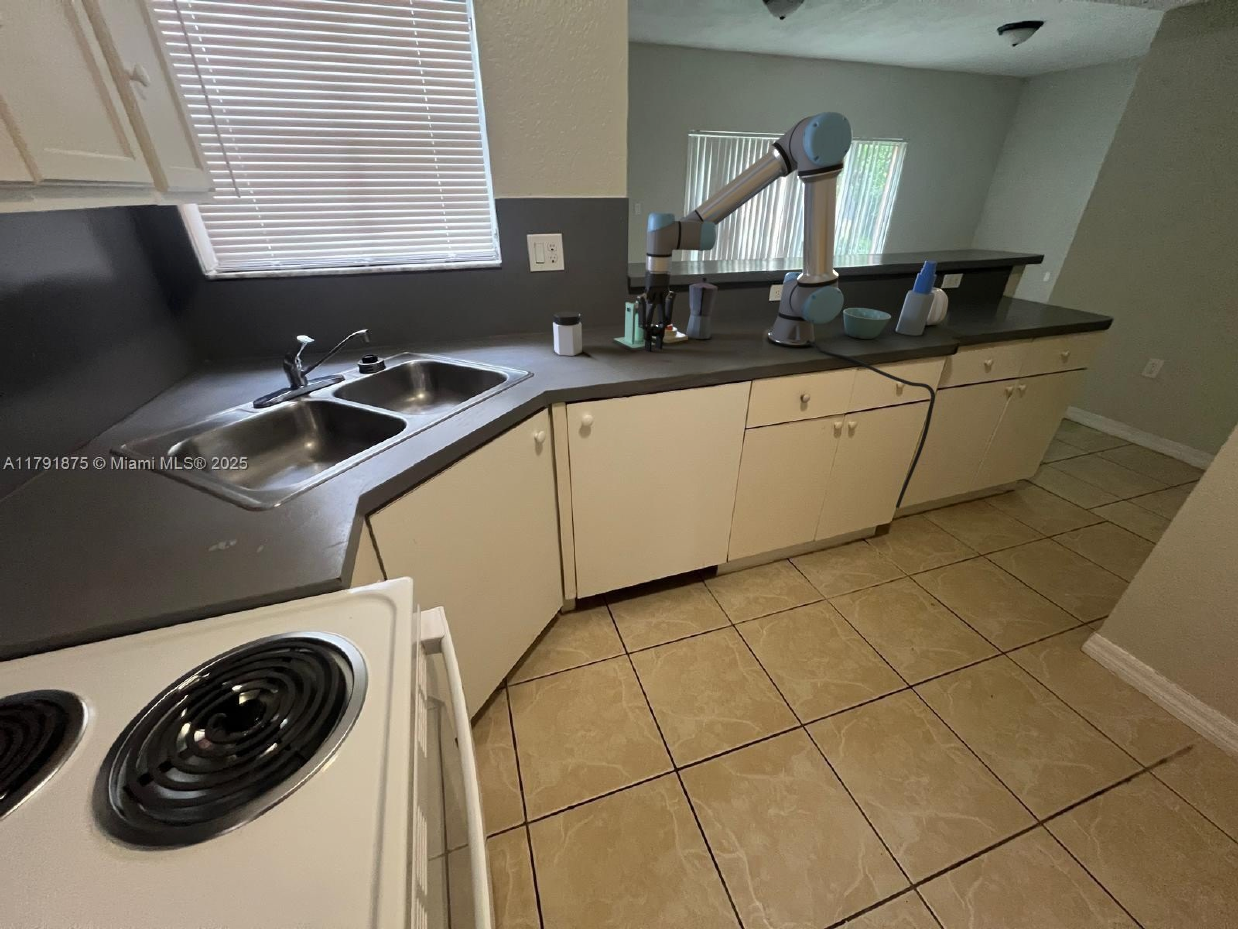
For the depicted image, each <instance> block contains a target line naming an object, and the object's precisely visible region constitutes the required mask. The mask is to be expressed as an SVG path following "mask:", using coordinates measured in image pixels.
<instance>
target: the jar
mask: <svg viewBox="0 0 1238 929" xmlns="http://www.w3.org/2000/svg"><path fill="white" fill-rule="evenodd" d="M582 324H583V323H581V314H580V313H579V312H578V311H571V310H562V311H557V312H555V313H554V314H553V322H552V328H553V347H554V348H553V349H554V352H555V353H556V354H557V355H559V356H565V357H566V356H569V357H574V356H576V355H579V354H581V353H583V329H582V328H583V327H582V326H583V325H582Z"/></svg>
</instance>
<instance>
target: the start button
mask: <svg viewBox="0 0 1238 929" xmlns="http://www.w3.org/2000/svg"><path fill="white" fill-rule="evenodd" d="M673 327H674V324H673V323H671V325H668V328H667V329H665V330H673Z"/></svg>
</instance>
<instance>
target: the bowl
mask: <svg viewBox="0 0 1238 929" xmlns="http://www.w3.org/2000/svg"><path fill="white" fill-rule="evenodd" d="M891 318H892V316H891V315H890V314H889V313H888V312H884V311H881V310H877V309H873V308H872V309H871V308H864V307H849V308H845V309H844V310H843V323H844V332H846V334H847V335H848V336H849V337H852V338H855V339H859V340H860V339H861V340H872V339H874V338H876V337H878V336H879V335H880V334H881V332H882V331H883V329H885V327H886V325H887V324H888V323H889V321H890V319H891Z"/></svg>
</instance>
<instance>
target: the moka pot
mask: <svg viewBox="0 0 1238 929" xmlns="http://www.w3.org/2000/svg"><path fill="white" fill-rule="evenodd" d="M701 280H702V282H698V283H693V284H690V285H689V309H690V312H689V313H690V314H689V320H688V324H687V327H686V331H685V335H687V336H688V338H691V339H693V340H694V339H695V340H707V339H710V338H711V330H712V329H711V325H712V324H711V314H712V310H713V309H714V305H715V301H716V297H717V292H718V286H716V285H714V284H711V283H708V282H707V280H708V278H707V277H702V279H701Z"/></svg>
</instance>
